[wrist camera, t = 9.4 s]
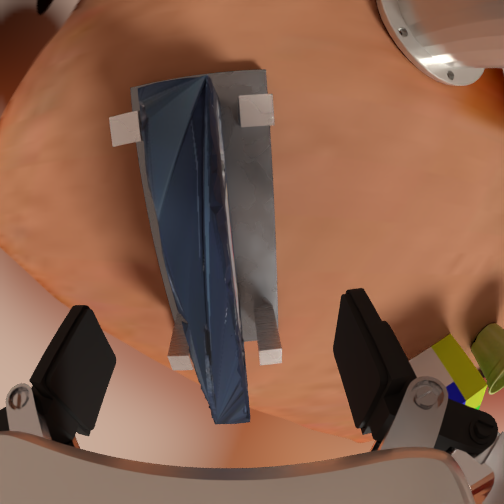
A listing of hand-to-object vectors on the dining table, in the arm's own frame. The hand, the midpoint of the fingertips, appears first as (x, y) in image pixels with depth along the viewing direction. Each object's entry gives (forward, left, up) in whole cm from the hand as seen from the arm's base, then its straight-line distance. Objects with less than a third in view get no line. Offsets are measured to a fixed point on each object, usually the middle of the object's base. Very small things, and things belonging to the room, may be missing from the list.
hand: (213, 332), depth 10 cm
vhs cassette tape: (+1, -1, -12) cm, 12 cm away
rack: (+1, -1, -12) cm, 12 cm away
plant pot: (+22, +38, -13) cm, 45 cm away
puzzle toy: (+25, +25, -13) cm, 38 cm away
